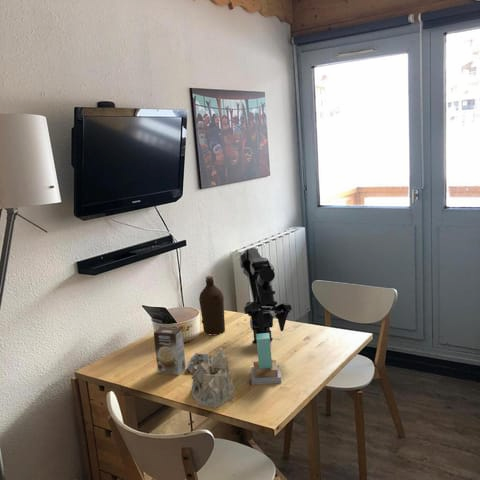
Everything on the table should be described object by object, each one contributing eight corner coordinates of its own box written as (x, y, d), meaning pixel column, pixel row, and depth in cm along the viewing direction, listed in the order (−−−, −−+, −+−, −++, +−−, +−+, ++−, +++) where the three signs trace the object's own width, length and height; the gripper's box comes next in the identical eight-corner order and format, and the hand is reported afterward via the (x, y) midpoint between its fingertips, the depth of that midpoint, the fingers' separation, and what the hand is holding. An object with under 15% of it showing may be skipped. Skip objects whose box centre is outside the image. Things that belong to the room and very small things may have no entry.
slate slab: (252, 386, 180) (251, 379, 180) (251, 373, 190) (251, 367, 190) (281, 384, 180) (280, 377, 180) (279, 371, 190) (278, 365, 189)
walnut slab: (254, 378, 181) (254, 371, 180) (253, 368, 188) (253, 361, 188) (277, 376, 180) (277, 369, 180) (276, 366, 188) (275, 360, 188)
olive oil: (231, 328, 235) (226, 274, 231) (217, 337, 226) (212, 280, 222) (211, 326, 241) (206, 273, 236) (197, 334, 232) (192, 279, 227)
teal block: (258, 362, 186) (256, 334, 183) (271, 361, 186) (268, 332, 183) (259, 368, 182) (256, 339, 179) (272, 367, 182) (269, 338, 179)
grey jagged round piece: (202, 380, 186) (198, 341, 182) (243, 388, 179) (239, 348, 175) (177, 403, 173) (172, 362, 169) (220, 413, 165) (216, 370, 162)
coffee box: (157, 373, 195) (152, 332, 192) (165, 366, 201) (160, 326, 198) (179, 375, 192) (174, 333, 189) (186, 368, 198) (182, 327, 195)
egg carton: (204, 374, 192) (203, 363, 191) (185, 373, 194) (184, 362, 193) (214, 361, 202) (213, 351, 201) (196, 360, 204) (195, 350, 203)
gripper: (270, 298, 210) (278, 337, 204) (232, 296, 199) (239, 337, 193) (288, 289, 202) (296, 328, 196) (250, 286, 191) (257, 328, 185)
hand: (272, 331), depth 193 cm, fingers open, 9 cm apart
